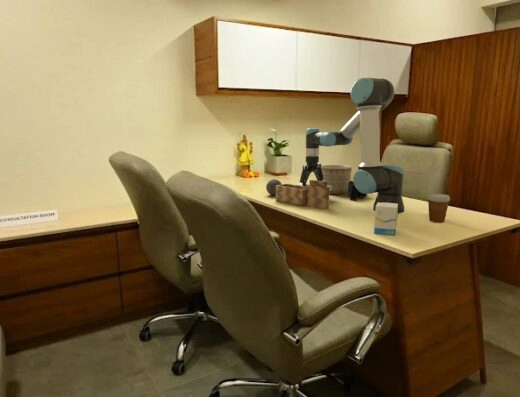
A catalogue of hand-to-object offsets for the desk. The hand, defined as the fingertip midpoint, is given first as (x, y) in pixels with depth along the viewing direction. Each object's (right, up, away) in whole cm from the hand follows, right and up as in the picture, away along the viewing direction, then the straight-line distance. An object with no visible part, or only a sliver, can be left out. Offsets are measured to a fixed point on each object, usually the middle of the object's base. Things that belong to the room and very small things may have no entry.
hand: (311, 193), depth 231 cm
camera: (+27, -3, +1) cm, 27 cm away
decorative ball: (-21, -1, +11) cm, 24 cm away
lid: (0, +2, 0) cm, 2 cm away
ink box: (+22, -17, -67) cm, 73 cm away
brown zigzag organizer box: (-7, -6, -14) cm, 17 cm away
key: (0, +4, -24) cm, 24 cm away
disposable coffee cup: (+50, -14, -51) cm, 73 cm away
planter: (+17, 0, +18) cm, 25 cm away
